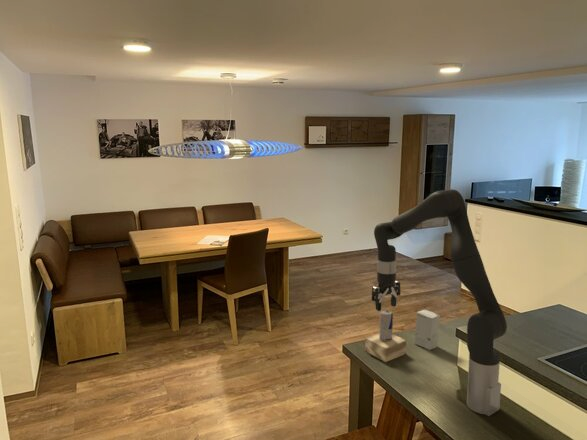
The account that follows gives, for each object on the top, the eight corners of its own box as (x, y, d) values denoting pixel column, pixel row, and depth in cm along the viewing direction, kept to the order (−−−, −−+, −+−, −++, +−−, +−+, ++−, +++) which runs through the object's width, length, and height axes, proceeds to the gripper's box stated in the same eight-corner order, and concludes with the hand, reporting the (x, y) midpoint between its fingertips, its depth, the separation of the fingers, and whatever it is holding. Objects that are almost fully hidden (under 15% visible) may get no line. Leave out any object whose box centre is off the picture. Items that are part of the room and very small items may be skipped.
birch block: (406, 353, 184) (406, 340, 183) (385, 362, 178) (385, 348, 177) (385, 343, 194) (385, 330, 193) (365, 350, 188) (365, 337, 187)
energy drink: (394, 338, 185) (395, 311, 183) (387, 343, 181) (388, 315, 179) (383, 335, 189) (384, 308, 186) (376, 339, 185) (377, 312, 183)
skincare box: (414, 344, 193) (415, 311, 190) (422, 340, 197) (423, 308, 194) (430, 350, 186) (431, 317, 184) (439, 346, 190) (440, 314, 187)
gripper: (380, 276, 173) (380, 315, 175) (405, 269, 180) (404, 307, 183) (367, 271, 179) (367, 309, 182) (392, 265, 187) (391, 301, 189)
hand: (386, 308), depth 182 cm, fingers open, 8 cm apart
